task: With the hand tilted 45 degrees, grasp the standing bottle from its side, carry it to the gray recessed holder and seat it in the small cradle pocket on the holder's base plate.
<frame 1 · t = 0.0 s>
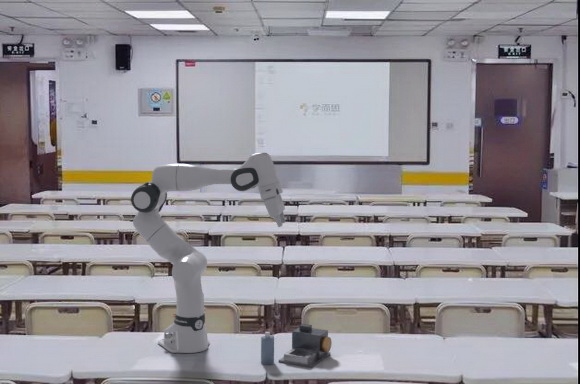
hand: (282, 224, 296), 52 cm above the table, tool tilted 20°, fingers open, 8 cm apart
gray recessed holder: (300, 361, 290), on the table
bottle: (267, 362, 287), on the table
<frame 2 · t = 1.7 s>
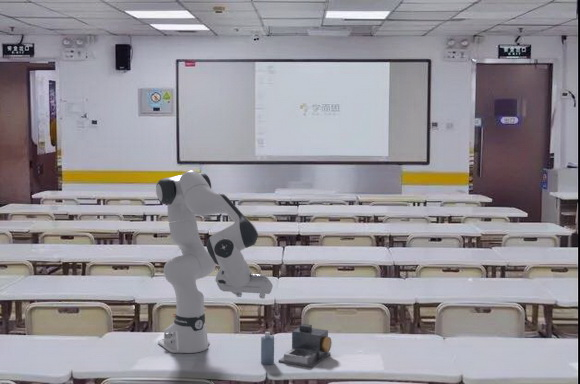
hand: (251, 296, 275), 29 cm above the table, tool tilted 45°, fingers open, 8 cm apart
nothing on the table moved.
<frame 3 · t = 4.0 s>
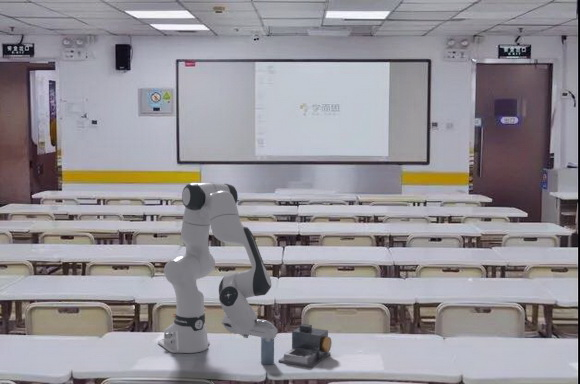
hand: (257, 338, 279), 12 cm above the table, tool tilted 45°, fingers open, 8 cm apart
nothing on the table moved.
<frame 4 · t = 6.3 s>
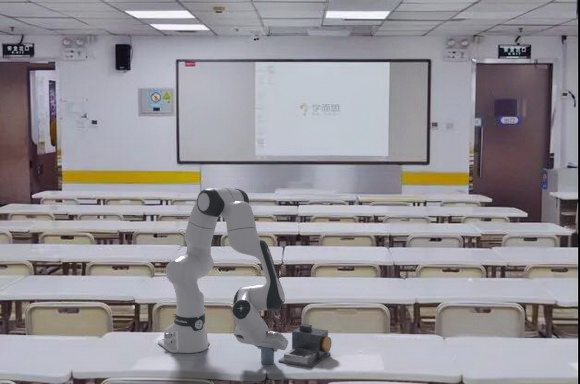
hand: (268, 348, 287), 5 cm above the table, tool tilted 45°, fingers closed on bottle, 5 cm apart
bottle: (267, 362, 287), on the table, touching gripper
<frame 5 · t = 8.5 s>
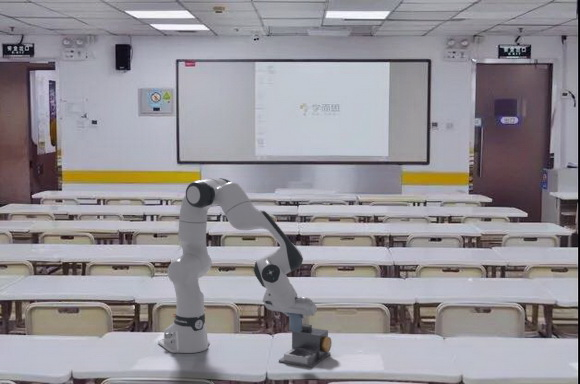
hand: (296, 315, 288), 18 cm above the table, tool tilted 45°, fingers closed on bottle, 5 cm apart
bottle: (295, 329, 288), point 13 cm above the table, touching gripper
when the fingers open (7 cm above the table, at t = 11.0 s): bottle drops 1 cm, resting on gray recessed holder.
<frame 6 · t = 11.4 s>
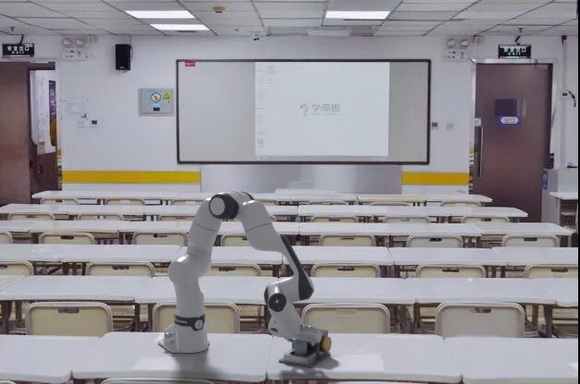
hand: (301, 342, 290), 7 cm above the table, tool tilted 45°, fingers open, 8 cm apart
bottle: (300, 359, 290), point 1 cm above the table, touching gray recessed holder
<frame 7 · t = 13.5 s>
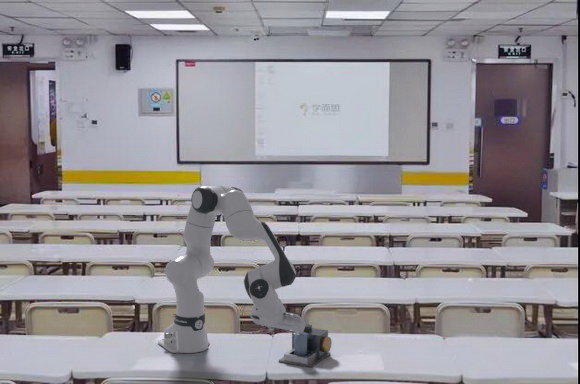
hand: (284, 331, 278), 15 cm above the table, tool tilted 45°, fingers open, 8 cm apart
nothing on the table moved.
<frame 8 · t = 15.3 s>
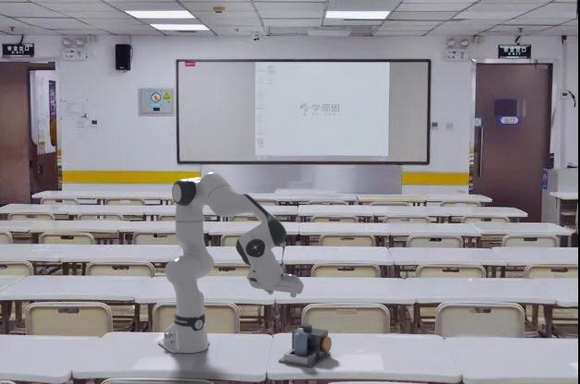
hand: (282, 294, 275), 29 cm above the table, tool tilted 45°, fingers open, 8 cm apart
nothing on the table moved.
at the end: bottle 0.1 cm from the gray recessed holder (horizontally); bottle tilted 1°; bottle point 0.8 cm above the table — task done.
